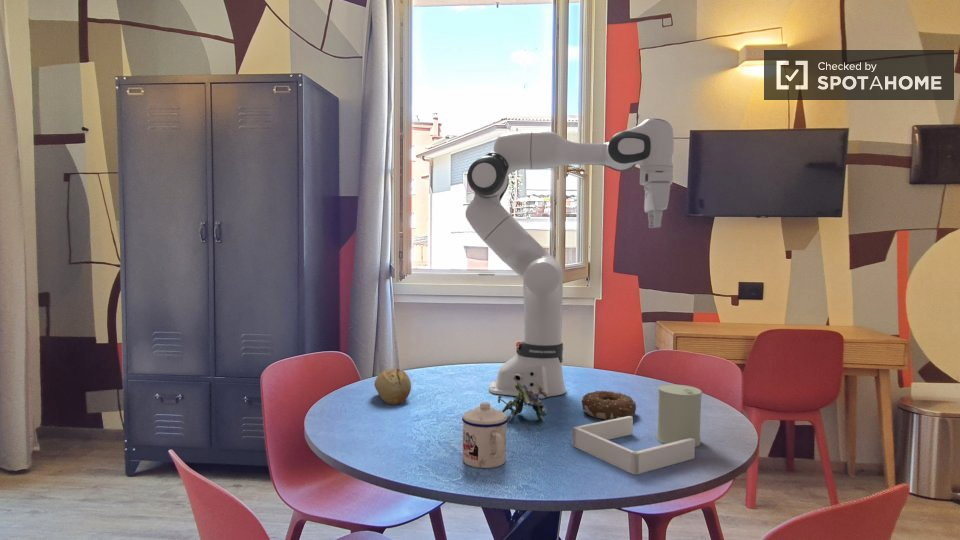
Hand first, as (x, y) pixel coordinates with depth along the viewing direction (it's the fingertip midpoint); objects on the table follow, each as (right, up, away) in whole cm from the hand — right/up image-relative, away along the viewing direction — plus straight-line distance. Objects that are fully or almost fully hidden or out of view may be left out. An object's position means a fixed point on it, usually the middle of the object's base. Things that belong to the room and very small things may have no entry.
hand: (654, 227), depth 164 cm
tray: (-17, -50, -41) cm, 67 cm away
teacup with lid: (-48, -50, -49) cm, 85 cm away
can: (-5, -50, -34) cm, 61 cm away
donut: (-16, -49, -15) cm, 54 cm away
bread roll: (-73, -48, -4) cm, 87 cm away
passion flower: (-38, -49, -22) cm, 66 cm away
